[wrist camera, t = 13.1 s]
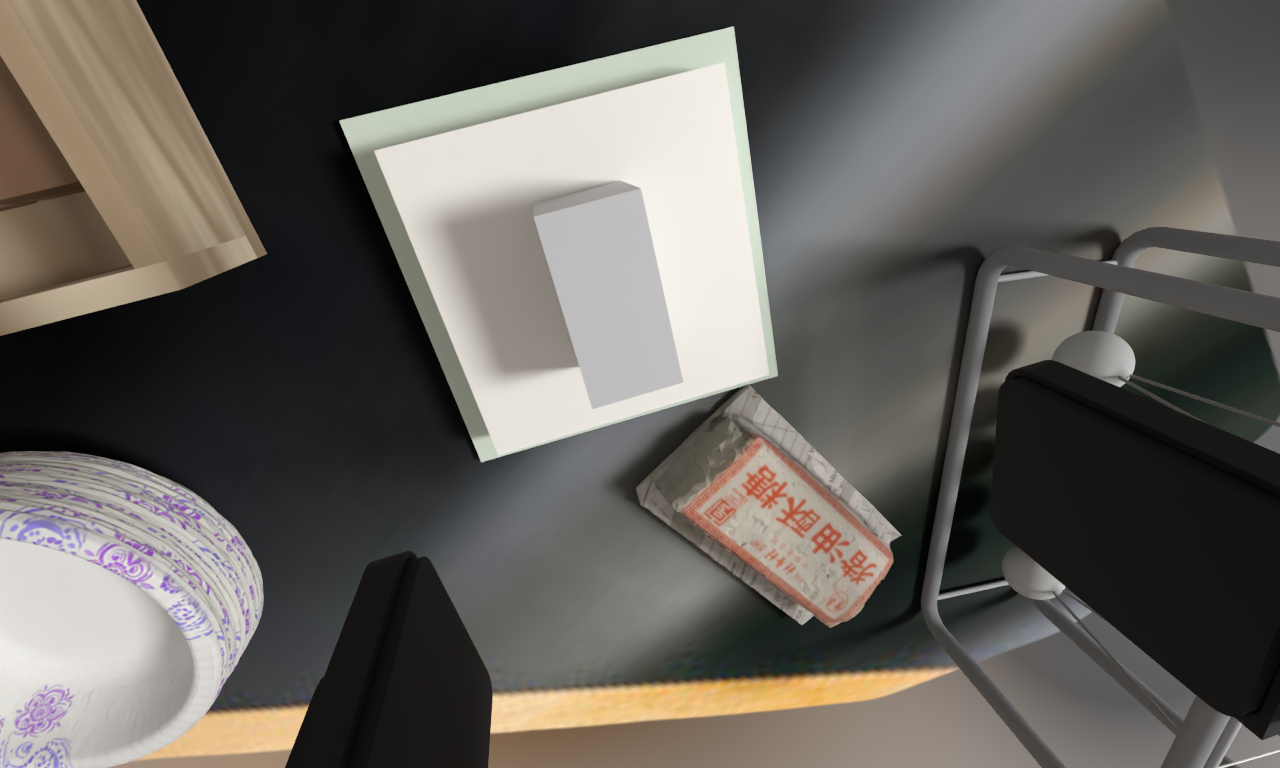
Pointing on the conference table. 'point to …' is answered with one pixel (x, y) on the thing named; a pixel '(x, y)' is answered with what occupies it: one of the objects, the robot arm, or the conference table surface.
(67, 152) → the box
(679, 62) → the mat
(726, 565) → the packaged product
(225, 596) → the paper bowls
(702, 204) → the lid
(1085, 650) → the newton's cradle
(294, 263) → the conference table surface
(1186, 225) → the conference table surface
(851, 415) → the conference table surface
